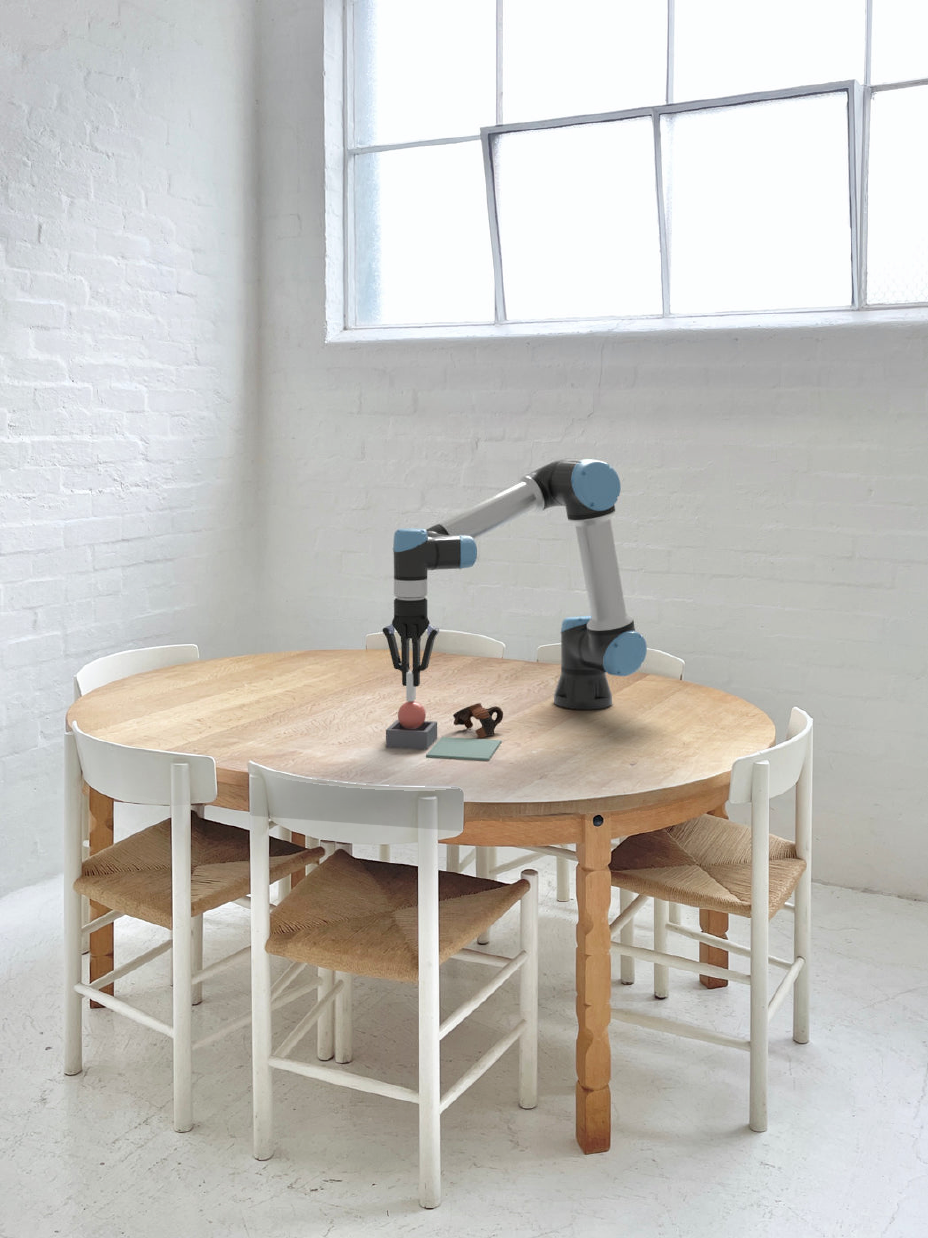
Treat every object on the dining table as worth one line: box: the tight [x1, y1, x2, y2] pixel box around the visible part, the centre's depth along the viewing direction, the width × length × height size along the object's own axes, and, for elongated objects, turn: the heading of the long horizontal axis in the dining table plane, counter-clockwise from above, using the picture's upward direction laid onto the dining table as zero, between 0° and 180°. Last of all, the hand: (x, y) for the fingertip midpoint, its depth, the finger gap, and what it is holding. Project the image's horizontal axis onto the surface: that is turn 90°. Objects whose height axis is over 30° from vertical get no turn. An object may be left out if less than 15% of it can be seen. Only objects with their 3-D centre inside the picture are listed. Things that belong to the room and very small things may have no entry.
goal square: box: [425, 736, 502, 761], centre depth 258 cm, size 14×15×1 cm
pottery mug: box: [452, 702, 504, 739], centre depth 272 cm, size 12×10×8 cm
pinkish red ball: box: [397, 700, 427, 729], centre depth 262 cm, size 6×6×6 cm
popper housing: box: [385, 719, 438, 750], centre depth 263 cm, size 10×10×4 cm
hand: (411, 699), depth 262 cm, fingers closed
